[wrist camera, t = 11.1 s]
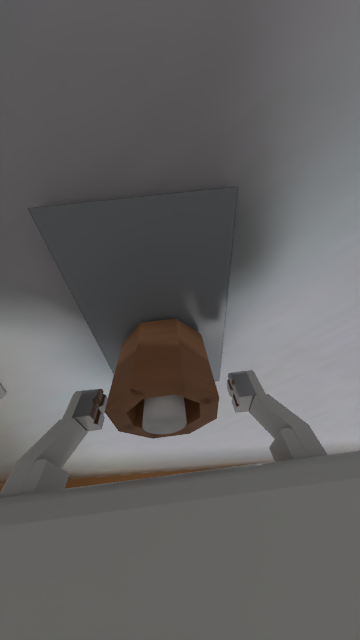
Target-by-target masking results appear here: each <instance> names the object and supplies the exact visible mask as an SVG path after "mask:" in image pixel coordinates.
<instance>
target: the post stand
mask: <svg viewBox="0 0 360 640" xmlns="http://www.w3.org/2000/svg"><path fill="white" fill-rule="evenodd" d="M237 191H238V187H229V188H219V189H209V190H200V191H190V192H180V193H171V194H161V195H151V196H142V197H132V198H122V199H113V200H103V201H93V202H84V203H74V204H64V205H54V206H45V207H35V208H28V210H29V212H30V214H31V216H32V218H33V220H34V222H35V224H36V225H37V227H38V229H39V231H40V233H41V235H42V237H43V239H44V241H45V243H46V245H47V247H48V249H49V250H50V252H51V254H52V256H53V258H54V260H55V262H56V264H57V266H58V268H59V270H60V272H61V274H62V275H63V277H64V279H65V281H66V283H67V285H68V287H69V289H70V291H71V293H72V295H73V297H74V299H75V300H76V302H77V304H78V306H79V308H80V310H81V312H82V314H83V316H84V318H85V320H86V322H87V324H88V325H89V327H90V329H91V331H92V333H93V335H94V337H95V339H96V341H97V343H98V345H99V347H100V349H101V350H102V352H103V354H104V356H105V358H106V360H107V362H108V364H109V366H110V368H111V370H112V372H113V374H115V370H116V366H117V362H118V359H119V355H120V351H121V347H122V344H123V343H124V341H125V340H126V339H127V338H128V337H129V336H130V334H131V333H132V332H133V331H134V330H135V329H136V327H137V326H138V325H139V324H140V323H143V322H151V321H160V320H168V319H178V320H179V321H181V322H182V323H184V324H185V325H187V326H189V327H190V328H192V329H193V330H195V331H197V332H198V333H200V334H201V335H202V339H203V343H204V346H205V350H206V353H207V357H208V360H209V364H210V367H211V371H212V374H213V378H214V381H219V379H220V368H221V358H222V348H223V337H224V327H225V316H226V306H227V296H228V285H229V275H230V264H231V254H232V244H233V233H234V223H235V212H236V202H237ZM186 424H187V421H186V412H185V403H184V397H182V396H179V395H169V396H161V397H153V398H145V399H144V410H143V422H142V428H143V429H144V430H145V431H147V432H149V433H152V434H170V433H174V432H177V431H180V430H181V429H183V428H184V427H185V426H186Z"/></svg>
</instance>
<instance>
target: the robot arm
mask: <svg viewBox="0 0 360 640" xmlns="http://www.w3.org/2000/svg"><path fill="white" fill-rule="evenodd" d="M228 378H229V379H228V380H227V388H228V392H229V395H230V396H231V397H232V404H233V407H234V410H235V412H246V411H249V413H250V414H251V415H252V416H253V417H254V418H255V419H256V420H257V421H258V422H259V423H260V424H261V425H262V426H263V427H264V428H265V429H266V430H267V431H268V432H269V433H270V434H271V435H272V436H273V437H274V438H275V439H274V441H273V442H272V444H271V445H270V451H271V453H272V455H273V458H274V460H275V462H267V463H260V464H252V465H244V466H237V467H229V468H221V469H214V470H206V471H199V472H191V473H185V474H184V473H183V474H176V475H168V476H160V477H153V478H146V479H138V480H130V481H123V482H115V483H107V484H100V485H92V486H84V487H77V488H70V489H64V488H65V485H66V482H67V479H68V476H69V472H68V471H66V470H65V469H63V468H62V467H63V465H64V464H65V463H66V461H67V460H68V458H69V457H70V456H71V454H72V453H73V452H74V450H75V449H76V448H77V446H78V445H79V443H80V442H81V441H82V439H83V438H84V437H85V435H86V434H87V433H88V432H87V431H93V430H100V429H102V426H103V422H104V418H105V417H104V415H103V414H104V413H105V408H106V404H107V400H108V399H107V396H106V395H104V394H103V390H102V389H94V390H84V391H76V392H75V393H74V394H73V396H72V399H71V401H70V403H69V405H68V408H67V410H66V412H65V414H64V416H63V419H62V420H59V421H58V422H57V423H56V424H55V425H54V426H53V427H52V428H51V429H50V430H49V431H48V432H47V433H46V434H45V435H44V436H43V437H42V438H41V439H40V440H39V441H38V442H37V443H36V444H35V445H34V446H33V447H31V448H30V449H29V450H28V451H27V452H26V453H25V454H24V455H23V456H22V457H21V458H20V459H19V460H18V461H17V463H16V465H15V466H14V468H13V470H12V472H11V474H10V476H9V477H8V479H7V481H6V483H5V485H4V486H3V488H2V490H1V492H0V640H360V450H359V451H351V452H343V453H336V454H328V455H327V453H326V452H325V450H324V448H323V447H322V445H321V444H320V442H319V441H318V439H317V437H316V436H315V434H314V433H313V431H312V430H311V428H310V426H309V425H308V424H307V423H305V422H304V421H303V420H302V419H300V418H299V417H298V416H296V415H295V414H294V413H292V412H291V411H290V410H288V409H287V408H286V407H284V406H283V405H282V404H281V403H279V402H278V401H277V400H275V399H274V398H273V397H271V396H270V395H269V394H265V392H264V390H263V388H262V386H261V384H260V382H259V380H258V379H257V377H256V375H255V373H254V371H252V370H250V371H241V372H233V373H229V374H228Z"/></svg>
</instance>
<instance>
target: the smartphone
mask: <svg viewBox="0 0 360 640" xmlns="http://www.w3.org/2000/svg"><path fill="white" fill-rule="evenodd" d="M5 395H6V391H5V390H4V388H3V387H2V385H1V384H0V401H1V400H2V399H3V397H4V396H5Z"/></svg>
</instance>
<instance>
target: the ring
mask: <svg viewBox="0 0 360 640" xmlns="http://www.w3.org/2000/svg"><path fill="white" fill-rule="evenodd" d="M169 395H179V396H182V397H184V403H185V412H186V421H187V424H186V426H185V427H184V428H183V429H181V430H180V431H177V432H174V433H170V434H152V433H149V432H147V431H145V430H144V429H143V428H142V422H143V410H144V399H145V398H153V397H161V396H169ZM218 401H219V395H218V392H217V388H216V385H215V381H214V378H213V374H212V371H211V367H210V364H209V360H208V357H207V353H206V350H205V346H204V343H203V339H202V335H201V334H200V333H198V332H197V331H195V330H193V329H192V328H190V327H189V326H187V325H185V324H184V323H182V322H181V321H179V320H178V319H168V320H160V321H151V322H143V323H140V324H139V325H138V326H137V327H136V329H135V330H134V331H133V332H132V333H131V334H130V336H129V337H128V338H127V339H126V340H125V341H124V343H123V344H122V347H121V351H120V355H119V359H118V362H117V366H116V370H115V374H114V378H113V381H112V385H111V389H110V393H109V397H108V400H107V404H106V408H105V413H106V414H107V416H108V417H109V418H110V420H111V421H112V423H113V424H114V425H115V427H116V428H117V429H118V431H120V432H125V433H130V434H134V435H139V436H144V437H149V438H160V437H167V436H175V435H182V434H190V433H191V432H193V431H195V430H197V429H199V428H200V427H202V426H204V425H206V424H207V423H209V422H211V421H213V420H215V419H216V418H217V411H218Z"/></svg>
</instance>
